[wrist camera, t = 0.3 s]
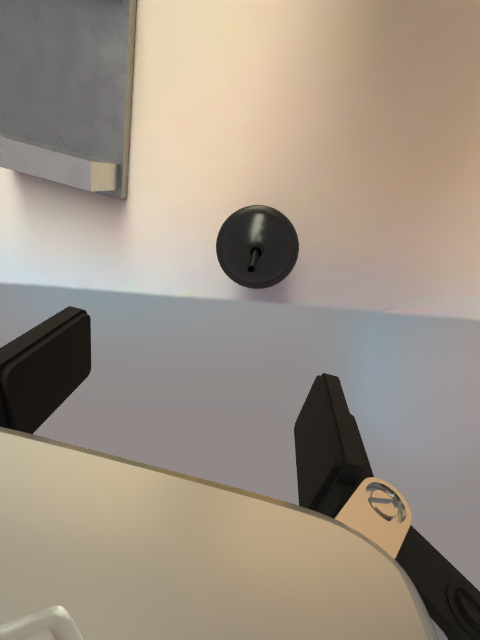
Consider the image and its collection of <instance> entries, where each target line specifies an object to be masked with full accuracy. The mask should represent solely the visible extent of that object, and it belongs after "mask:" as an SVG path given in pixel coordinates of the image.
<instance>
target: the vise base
mask: <svg viewBox="0 0 480 640" xmlns="http://www.w3.org/2000/svg"><path fill="white" fill-rule="evenodd" d="M136 6H137V0H0V167H3V168H7V169H10V170H14V171H18V172H21V173H25V174H29V175H32V176H36V177H40V178H43V179H47V180H51V181H54V182H58V183H62V184H65V185H69V186H72V187H76V188H80V189H83V190H87V191H91V192H92V191H94V192H98V193H101V194H105V195H109V196H112V197H116V198H120V199H125V198H127V183H128V163H129V143H130V124H131V104H132V84H133V65H134V45H135V25H136Z"/></svg>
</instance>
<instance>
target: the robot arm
mask: <svg viewBox="0 0 480 640" xmlns="http://www.w3.org/2000/svg"><path fill="white" fill-rule="evenodd" d="M90 331H91V328H90V316H89V315H87V312H86V311H85V310H82V309H79V308H74V307H70V306H69V307H67V308H65V309H64V310H62V311H61V312H59V313H57V314H56V315H54V316H52V317H51V318H49V319H47V320H46V321H44V322H42V323H41V324H39V325H37V326H36V327H34V328H33V329H31V330H29V331H28V332H26V333H25V334H23V335H21V336H19V337H18V338H16V339H15V340H13V341H11V342H10V343H8V344H7V345H5V346H3V347H1V348H0V640H480V592H479V591H478V589H476V588H475V587H474V586H473V585H472V584H471V583H470V582H469V581H468V580H467V579H466V578H465V577H464V576H463V575H462V574H461V573H460V572H459V571H458V570H457V569H456V568H455V567H454V566H453V565H451V563H450V562H449V561H447V560H446V559H445V558H444V557H443V556H442V555H441V554H440V553H439V552H438V551H437V550H436V549H435V548H434V547H433V546H432V545H431V544H430V543H429V542H428V541H427V540H426V539H425V538H424V537H423V536H421V535H420V533H418V532H417V531H416V530H415V529H414V528H413V527H412V526H411V521H412V514H411V510H410V508H409V505H408V503H407V501H406V500H405V499H404V497H403V496H402V495H401V493H400V492H399V491H398V490H397V489H396V488H394V487H393V486H392V485H391V484H389V483H388V482H386V481H384V480H382V479H379V478H374V476H373V473H372V470H371V467H370V463H369V460H368V457H367V454H366V451H365V448H364V445H363V442H362V439H361V436H360V433H359V430H358V427H357V424H356V421H355V418H354V416H353V415H351V414H350V412H349V409H348V406H347V403H346V400H345V397H344V393H343V390H342V387H341V384H340V380H339V378H338V377H337V376H333V375H329V374H325V373H323V374H322V375H321V376H319V375H318V376H317V377H316V379H315V381H314V383H313V385H312V387H311V390H310V392H309V394H308V396H307V398H306V401H305V403H304V405H303V407H302V409H301V412H300V414H299V416H298V418H297V421H296V423H295V427H294V436H295V449H296V465H297V479H298V494H299V506H298V505H295V504H291V503H288V502H284V501H280V500H277V499H274V498H270V497H267V496H263V495H260V494H256V493H253V492H249V491H245V490H242V489H238V488H234V487H231V486H227V485H223V484H220V483H216V482H212V481H208V480H204V479H201V478H197V477H193V476H190V475H186V474H182V473H178V472H175V471H171V470H167V469H163V468H159V467H155V466H152V465H148V464H144V463H141V462H137V461H133V460H129V459H125V458H122V457H118V456H114V455H110V454H107V453H103V452H99V451H95V450H91V449H87V448H83V447H79V446H76V445H72V444H68V443H64V442H60V441H56V440H52V439H48V438H45V437H41V436H37V435H33V433H34V432H35V431H36V430H37V428H39V426H40V425H41V424H42V423H43V422H44V421H45V420H46V419H47V418H48V417H49V416H50V415H51V414H52V413H53V412H54V411H55V410H56V409H57V408H58V407H59V406H60V405H61V404H62V403H63V401H64V400H65V399H66V398H67V397H68V396H69V395H70V394H71V393H72V392H73V391H74V390H75V389H76V388H77V387H78V386H79V385H80V384H81V383H82V382H83V381H84V380H85V379H86V378H87V377H88V375H89V373H90V371H91V332H90Z"/></svg>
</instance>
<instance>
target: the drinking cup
mask: <svg viewBox="0 0 480 640" xmlns="http://www.w3.org/2000/svg"><path fill="white" fill-rule="evenodd" d="M216 252H217V258H218V261H219V263H220V266H221V267H222V269H223V271H224V272H225V273H226V275H227V276H228V277H229V278H230V279H232V280H233V281H234V282H236V283H238V284H239V285H242V286H244V287H248V288H253V289H261V288H267V287H271V286H273V285H275V284H277V283H279V282H281V281H282V280H283V279H284V278H286V277H287V276H288V275H289V273H290V272H291V271H292V269H293V267H294V266H295V263H296V261H297V257H298V252H299V242H298V236H297V233H296V231H295V228H294V226H293V225H292V223H291V222H290V220H289V219H288V218H287V217H286V216H285V215H284V214H282V213H281V212H280V211H278V210H276V209H274V208H271V207H268V206H263V205H252V206H247V207H244V208H242V209H239V210H238V211H236V212H234V213H233V214H232V215H231V216H229V217H228V218H227V220H226V221H225V222H224V223H223V225H222V227H221V229H220V231H219V233H218V237H217V242H216Z"/></svg>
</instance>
